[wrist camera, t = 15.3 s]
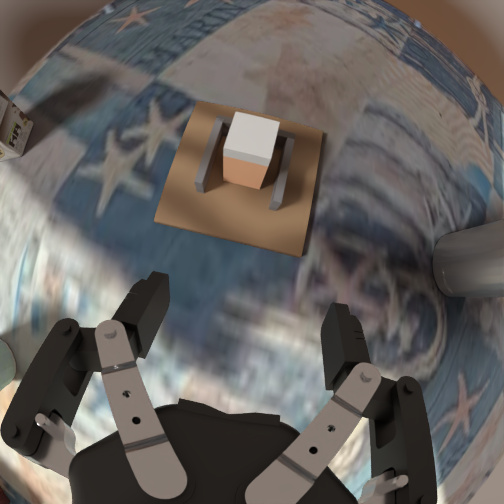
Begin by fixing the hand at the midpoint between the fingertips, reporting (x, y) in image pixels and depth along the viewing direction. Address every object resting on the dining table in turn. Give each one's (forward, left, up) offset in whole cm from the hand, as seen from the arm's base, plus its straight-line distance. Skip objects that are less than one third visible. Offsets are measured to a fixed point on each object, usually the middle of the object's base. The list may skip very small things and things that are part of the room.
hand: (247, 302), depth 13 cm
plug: (-8, -11, -15) cm, 20 cm away
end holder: (-8, -11, -16) cm, 20 cm away
